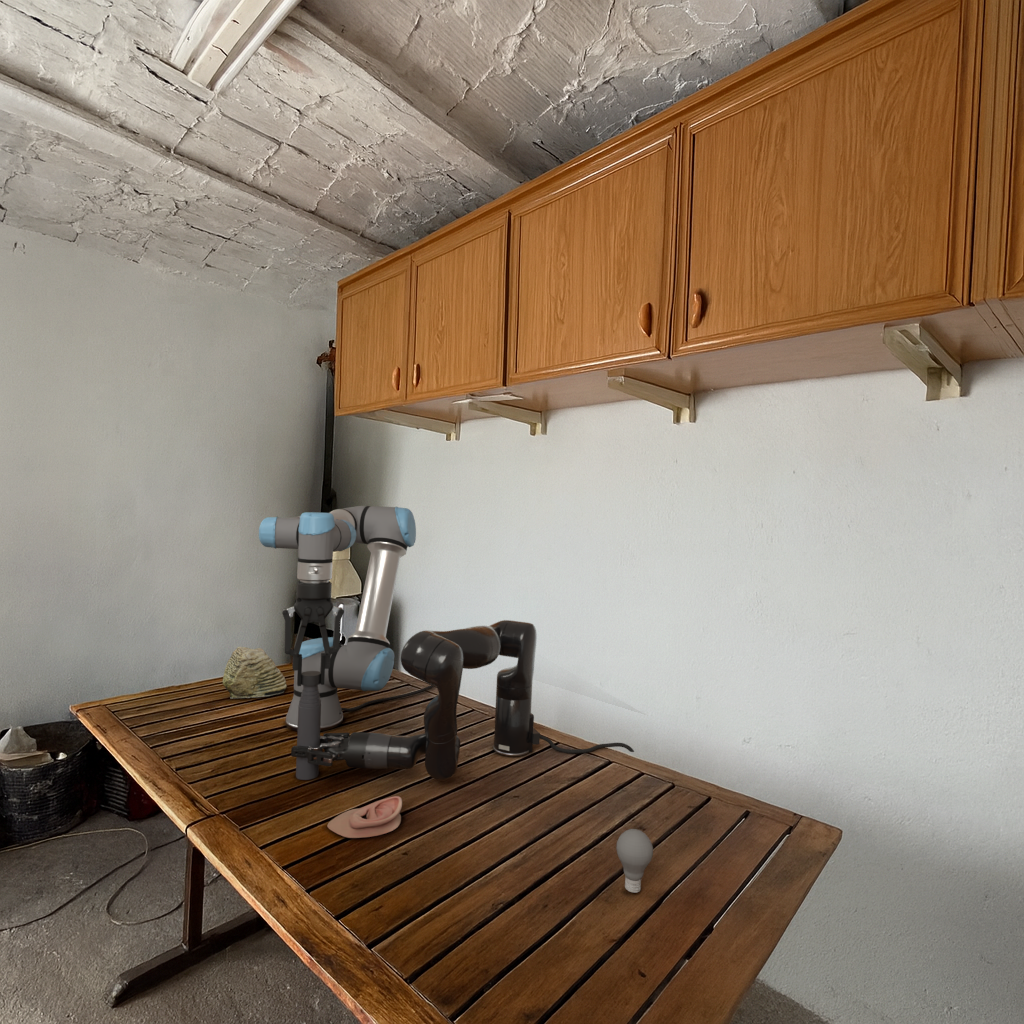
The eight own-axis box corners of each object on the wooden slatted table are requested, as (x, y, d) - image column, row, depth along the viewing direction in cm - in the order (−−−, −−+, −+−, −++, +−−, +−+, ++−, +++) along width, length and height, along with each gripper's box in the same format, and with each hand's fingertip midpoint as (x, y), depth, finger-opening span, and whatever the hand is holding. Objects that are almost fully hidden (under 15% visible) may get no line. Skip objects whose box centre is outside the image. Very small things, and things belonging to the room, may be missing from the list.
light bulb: (610, 879, 108) (613, 822, 108) (644, 879, 109) (647, 822, 109) (619, 902, 102) (622, 840, 102) (655, 901, 103) (658, 840, 103)
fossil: (218, 695, 195) (220, 647, 195) (278, 685, 208) (279, 640, 207) (228, 703, 189) (230, 653, 188) (289, 692, 201) (290, 645, 201)
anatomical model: (320, 812, 119) (347, 786, 130) (319, 833, 119) (347, 805, 130) (386, 822, 116) (408, 795, 127) (385, 844, 116) (408, 814, 128)
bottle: (302, 782, 140) (306, 680, 140) (291, 774, 144) (295, 675, 143) (322, 775, 144) (326, 676, 143) (311, 768, 147) (315, 671, 147)
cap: (301, 680, 145) (301, 671, 145) (321, 680, 146) (321, 670, 146) (299, 686, 141) (300, 676, 141) (320, 685, 142) (320, 675, 142)
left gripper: (273, 583, 136) (269, 691, 137) (355, 582, 142) (351, 686, 143) (273, 578, 143) (269, 681, 144) (352, 578, 149) (348, 676, 150)
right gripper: (379, 723, 150) (308, 719, 151) (362, 746, 136) (284, 741, 136) (378, 754, 150) (307, 750, 151) (361, 781, 136) (283, 776, 136)
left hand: (310, 683), depth 143 cm, fingers closed on cap, 4 cm apart
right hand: (296, 746), depth 144 cm, fingers closed on bottle, 5 cm apart
